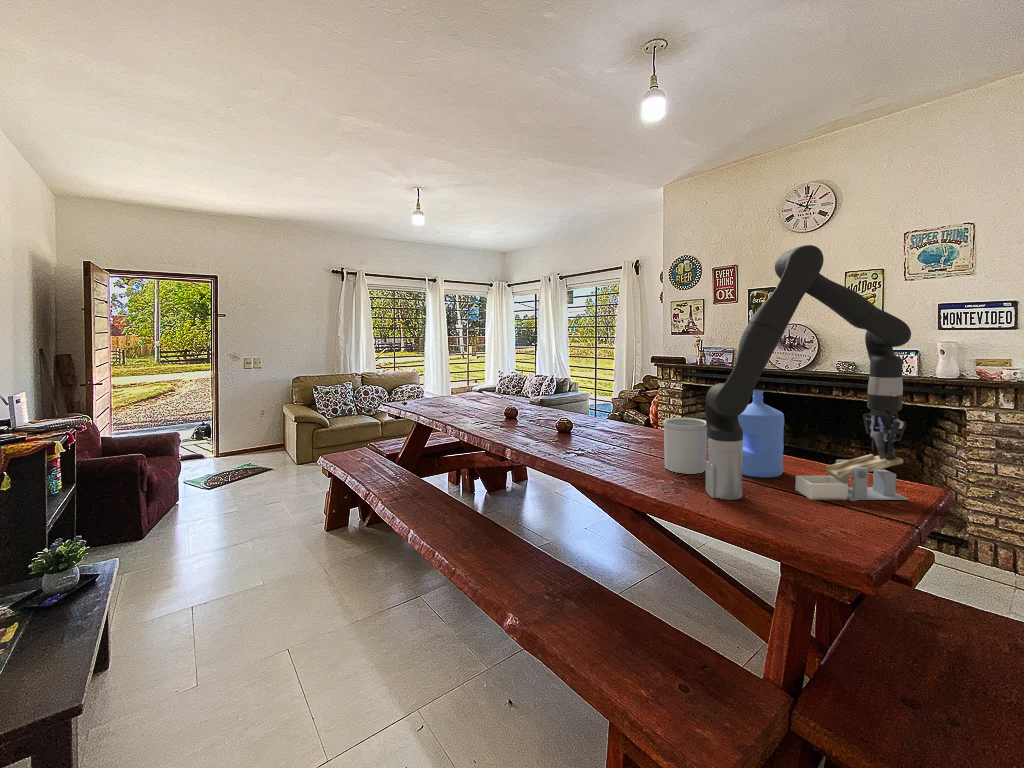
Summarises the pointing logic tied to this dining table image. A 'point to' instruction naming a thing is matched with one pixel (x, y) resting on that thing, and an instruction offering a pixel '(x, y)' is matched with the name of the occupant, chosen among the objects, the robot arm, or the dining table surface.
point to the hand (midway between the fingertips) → (882, 452)
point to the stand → (881, 485)
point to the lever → (865, 461)
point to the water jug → (762, 439)
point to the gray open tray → (821, 488)
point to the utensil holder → (685, 445)
